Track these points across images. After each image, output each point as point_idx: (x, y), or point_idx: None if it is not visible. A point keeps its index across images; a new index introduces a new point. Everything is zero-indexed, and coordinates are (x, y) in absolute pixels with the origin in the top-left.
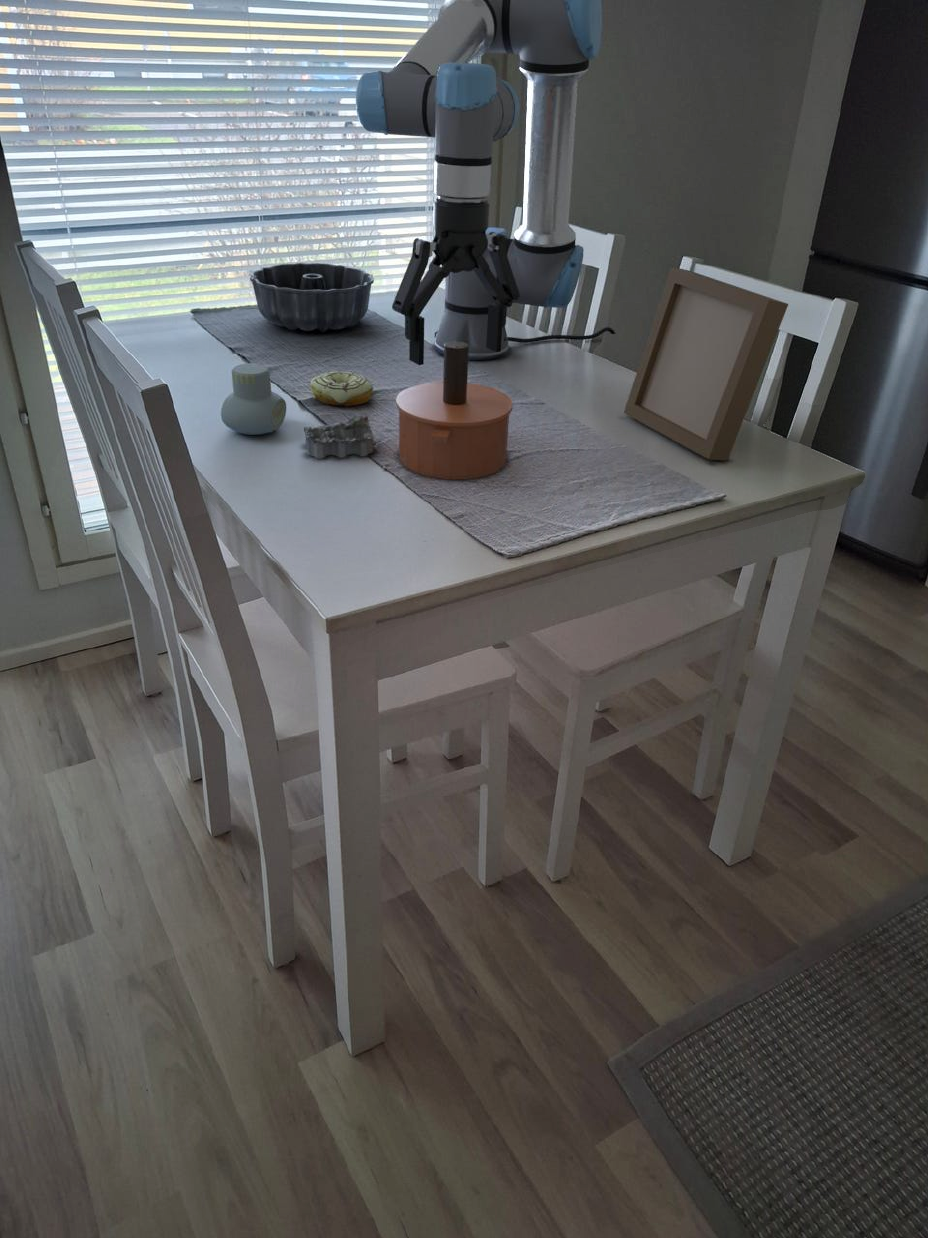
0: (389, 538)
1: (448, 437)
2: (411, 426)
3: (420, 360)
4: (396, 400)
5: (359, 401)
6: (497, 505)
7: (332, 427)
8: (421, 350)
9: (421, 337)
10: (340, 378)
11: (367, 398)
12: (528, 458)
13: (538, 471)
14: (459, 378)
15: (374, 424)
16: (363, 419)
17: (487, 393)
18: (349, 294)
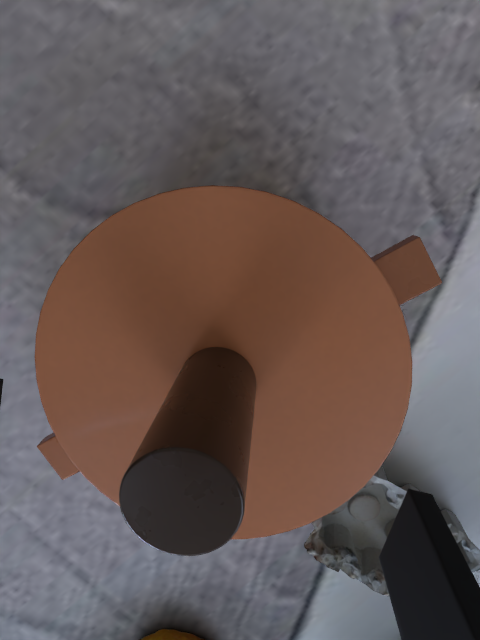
0: None
1: (399, 245)
2: None
3: (433, 506)
4: (347, 500)
5: (183, 635)
6: (374, 58)
7: (368, 575)
8: (446, 541)
9: (477, 603)
10: None
11: (159, 635)
12: (100, 193)
13: (139, 121)
14: (228, 388)
15: (229, 551)
16: (317, 549)
17: (85, 353)
18: None
